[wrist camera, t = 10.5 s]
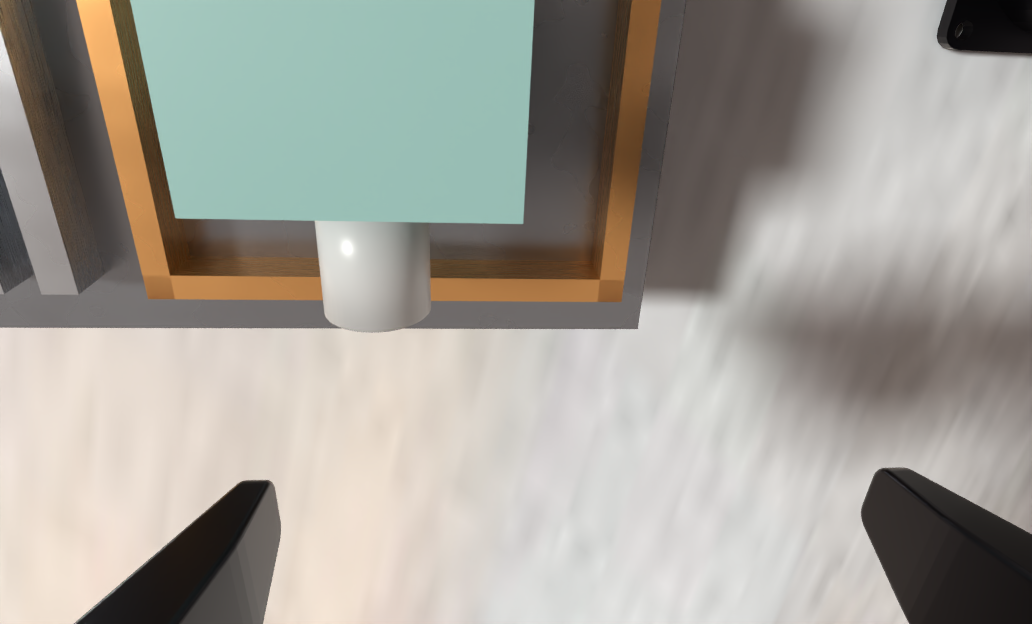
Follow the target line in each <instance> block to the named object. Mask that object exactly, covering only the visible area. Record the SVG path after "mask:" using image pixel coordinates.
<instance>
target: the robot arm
mask: <svg viewBox="0 0 1032 624" xmlns="http://www.w3.org/2000/svg"><path fill="white" fill-rule="evenodd" d="M961 23H962V24H963V31H962V33H961V34H960V36H959V37H957V38H956V36H955V31H956V29H957V27H958V25H959V24H961ZM937 39H938V43H939V44H940V45H941V46H942V47H944V48H947V49H954V50H970V51H992V52H1015V53H1032V0H947V2H946V5H945V9H944V12H943V15H942V18H941V21H940V25H939V28H938V33H937ZM861 517H862V522H863V525H864V527H865V530H866V532H867V534H868V536H869V538H870V541H871V543H872V545H873V547H874V549H875V551H876V554H877V556H878V558H879V560H880V562H881V565H882V567H883V569H884V571H885V573H886V576H887V578H888V580H889V582H890V584H891V587H892V589H893V591H894V593H895V595H896V598H897V600H898V602H899V604H900V606H901V608H902V610H903V612H904V614H905V616H906V618H907V620H908V622H909V624H1032V534H1030V533H1028V532H1026V531H1025V530H1023V529H1021V528H1019V527H1017V526H1015V525H1013V524H1012V523H1010V522H1008V521H1006V520H1004V519H1002V518H1000V517H998V516H997V515H995V514H993V513H991V512H989V511H987V510H985V509H983V508H982V507H980V506H978V505H976V504H974V503H972V502H970V501H969V500H967V499H965V498H963V497H961V496H959V495H957V494H955V493H954V492H952V491H950V490H948V489H946V488H944V487H942V486H941V485H939V484H937V483H935V482H933V481H931V480H929V479H927V478H926V477H924V476H922V475H920V474H918V473H916V472H914V471H912V470H910V469H908V468H882V469H879V470H878V471H877V472H876V473H875V474H874V476H873V479H872V482H871V484H870V487H869V489H868V492H867V495H866V497H865V500H864V502H863V505H862V509H861ZM280 535H281V522H280V516H279V510H278V504H277V498H276V492H275V487H274V485H273V483H272V482H271V481H269V480H246V481H242V482H240V483H238V484H237V485H236V486H235V487H233V488H232V489H231V490H230V491H229V492H227V493H226V494H225V495H224V496H223V497H222V498H220V499H219V500H218V501H217V502H216V503H215V504H213V505H212V506H211V507H210V508H209V509H208V510H206V511H205V512H204V513H203V514H202V515H201V516H199V517H198V518H197V519H196V520H195V521H194V522H192V523H191V524H190V525H189V526H188V527H186V528H185V529H184V530H183V531H182V532H181V533H179V534H178V535H177V536H176V537H175V538H174V539H172V540H171V541H170V542H169V543H168V544H167V545H165V546H164V547H163V548H162V549H161V550H160V551H158V552H157V553H156V554H155V555H154V556H153V557H151V558H150V559H149V560H148V561H147V562H146V563H144V564H143V565H142V566H141V567H140V568H138V569H137V570H136V571H135V572H134V573H133V574H131V575H130V576H129V577H128V578H127V579H126V580H124V581H123V582H122V583H121V584H120V585H119V586H117V587H116V588H115V589H114V590H113V591H112V592H110V593H109V594H108V595H107V596H106V597H105V598H103V599H102V600H101V601H100V602H99V603H97V604H96V605H95V606H94V607H93V608H92V609H90V610H89V611H88V612H87V613H86V614H85V615H83V616H82V617H81V618H80V619H79V620H78V621H76V622H75V623H74V624H263V620H264V615H265V611H266V606H267V601H268V596H269V591H270V586H271V581H272V576H273V572H274V567H275V562H276V557H277V552H278V547H279V542H280Z"/></svg>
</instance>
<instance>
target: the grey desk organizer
mask: <svg viewBox="0 0 1032 624" xmlns="http://www.w3.org/2000/svg"><path fill="white" fill-rule="evenodd" d="M685 6H686V0H535V1H534V21H533V40H532V60H531V80H530V100H529V120H528V139H527V159H526V179H525V199H524V218H523V224H488V223H429V232H430V283H431V310H430V312H429V314H428V315H427V316H426V317H425V318H424V319H423V320H421V321H420V322H418V323H416V324H414V325H411V326H409V327H406V328H432V329H638V322H639V316H640V309H641V302H642V295H643V289H644V282H645V275H646V268H647V262H648V255H649V248H650V242H651V235H652V228H653V221H654V215H655V208H656V201H657V194H658V188H659V181H660V174H661V167H662V161H663V154H664V147H665V141H666V134H667V127H668V120H669V114H670V107H671V100H672V93H673V87H674V80H675V73H676V66H677V60H678V53H679V46H680V40H681V33H682V26H683V19H684V13H685ZM0 327H17V328H340V327H338V326H336V325H334V324H332V323H331V322H330V321H329V320H328V319H327V318H326V317H325V314H324V305H323V295H322V286H321V276H320V267H319V257H318V248H317V238H316V229H315V221H303V220H241V219H180V218H175V214H174V209H173V204H172V199H171V195H170V190H169V185H168V180H167V175H166V171H165V166H164V161H163V156H162V151H161V147H160V142H159V137H158V132H157V127H156V122H155V118H154V113H153V108H152V103H151V98H150V94H149V89H148V84H147V79H146V74H145V70H144V65H143V60H142V55H141V50H140V46H139V41H138V36H137V31H136V26H135V21H134V17H133V12H132V7H131V2H130V0H0Z"/></svg>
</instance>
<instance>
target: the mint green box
mask: <svg viewBox="0 0 1032 624" xmlns="http://www.w3.org/2000/svg"><path fill="white" fill-rule="evenodd" d="M534 1H535V0H130V2H131V7H132V12H133V17H134V21H135V26H136V31H137V36H138V41H139V46H140V50H141V55H142V60H143V65H144V70H145V74H146V79H147V84H148V89H149V94H150V98H151V103H152V108H153V113H154V118H155V122H156V127H157V132H158V137H159V142H160V147H161V151H162V156H163V161H164V166H165V171H166V175H167V180H168V185H169V190H170V195H171V199H172V204H173V209H174V214H175V218H180V219H241V220H303V221H315V229H316V238H317V248H318V257H319V267H320V276H321V286H322V295H323V305H324V314H325V317H326V318H327V319H328V320H329V321H330V322H331V323H332V324H334V325H336V326H338V327H340V328H343V329H347V330H351V331H357V332H387V331H394V330H399V329H403V328H406V327H409V326H411V325H414V324H416V323H418V322H420V321H421V320H423V319H424V318H425V317H426V316H427V315H428V314H429V312H430V310H431V283H430V232H429V223H488V224H523V218H524V199H525V179H526V159H527V139H528V120H529V100H530V80H531V60H532V40H533V21H534Z"/></svg>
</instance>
